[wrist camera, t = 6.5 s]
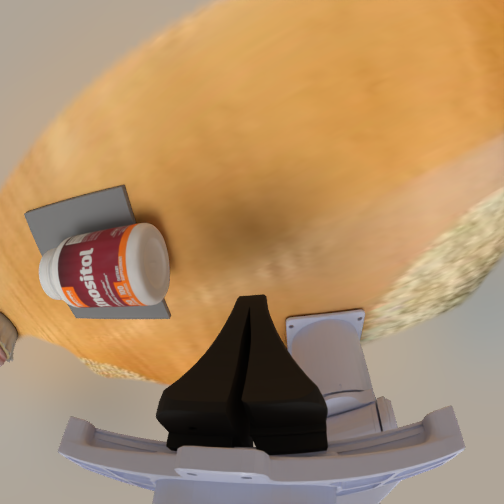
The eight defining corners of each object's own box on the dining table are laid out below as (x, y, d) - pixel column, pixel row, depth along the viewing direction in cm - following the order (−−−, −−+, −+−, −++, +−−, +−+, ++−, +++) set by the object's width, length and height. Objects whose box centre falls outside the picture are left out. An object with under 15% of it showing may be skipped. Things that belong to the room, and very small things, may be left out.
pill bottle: (152, 321, 18) (48, 321, 19) (178, 283, 24) (83, 291, 25) (126, 233, 16) (23, 253, 17) (161, 212, 22) (65, 233, 23)
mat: (170, 315, 28) (169, 318, 28) (77, 315, 29) (76, 318, 29) (124, 184, 21) (121, 187, 20) (26, 211, 22) (24, 213, 21)
